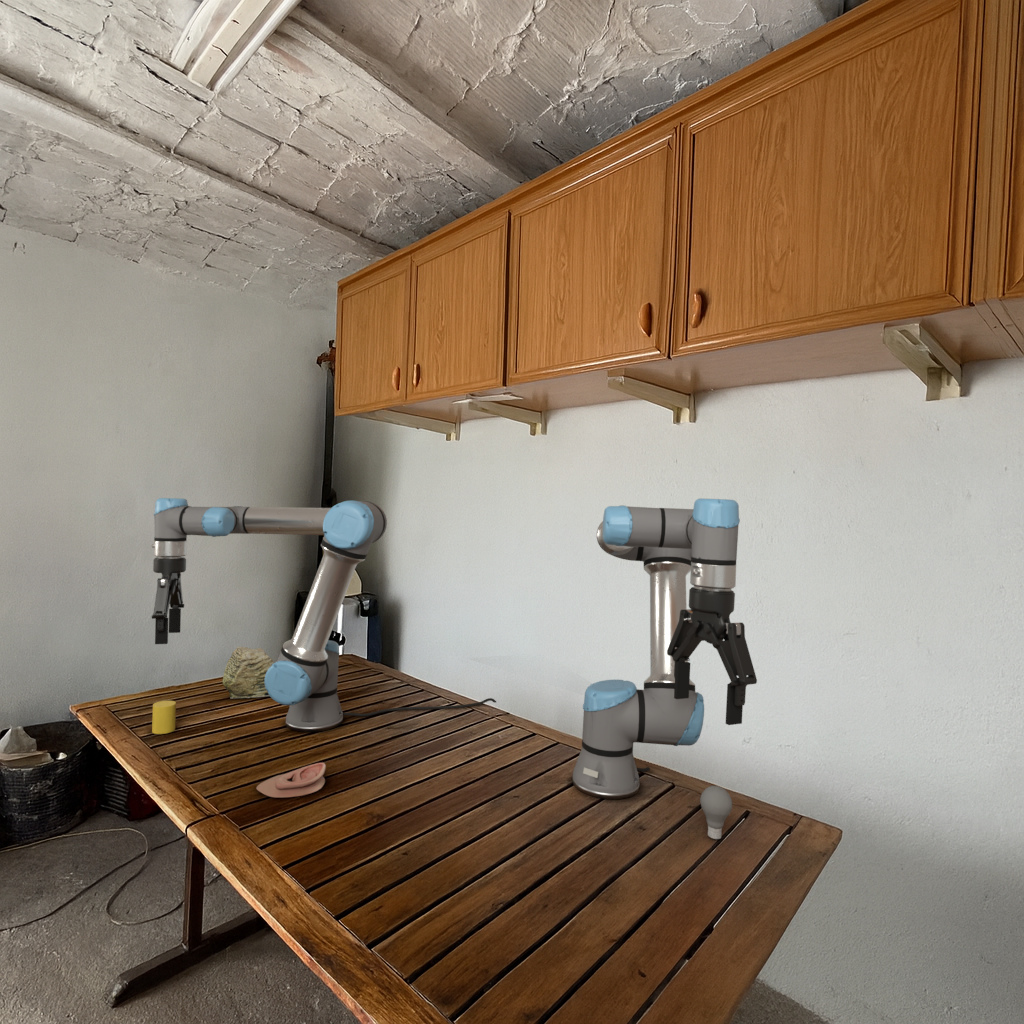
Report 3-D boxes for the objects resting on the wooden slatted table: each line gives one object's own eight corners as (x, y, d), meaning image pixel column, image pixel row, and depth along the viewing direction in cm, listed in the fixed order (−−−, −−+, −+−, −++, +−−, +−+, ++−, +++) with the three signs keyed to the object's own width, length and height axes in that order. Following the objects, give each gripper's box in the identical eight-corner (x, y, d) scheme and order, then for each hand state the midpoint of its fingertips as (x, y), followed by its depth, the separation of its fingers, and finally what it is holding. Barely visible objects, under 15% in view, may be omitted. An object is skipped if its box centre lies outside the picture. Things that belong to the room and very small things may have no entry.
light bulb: (693, 829, 126) (696, 780, 126) (722, 829, 127) (725, 780, 127) (705, 846, 121) (708, 794, 120) (735, 846, 121) (738, 794, 121)
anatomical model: (248, 775, 133) (279, 754, 144) (247, 794, 133) (278, 771, 144) (306, 783, 130) (332, 761, 142) (305, 802, 130) (332, 779, 142)
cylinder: (176, 726, 170) (177, 699, 169) (173, 733, 165) (174, 706, 164) (154, 727, 168) (155, 701, 168) (149, 734, 163) (150, 707, 163)
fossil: (218, 695, 195) (220, 647, 195) (278, 685, 208) (279, 640, 207) (228, 703, 189) (230, 653, 188) (289, 692, 201) (290, 645, 201)
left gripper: (166, 552, 176) (164, 628, 177) (139, 561, 152) (137, 649, 153) (195, 553, 178) (194, 627, 179) (174, 562, 154) (172, 648, 155)
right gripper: (651, 578, 119) (646, 690, 120) (747, 600, 96) (740, 738, 97) (684, 578, 122) (678, 687, 123) (784, 599, 99) (777, 733, 100)
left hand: (168, 638), depth 166 cm, fingers open, 13 cm apart
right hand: (706, 710), depth 110 cm, fingers open, 13 cm apart
